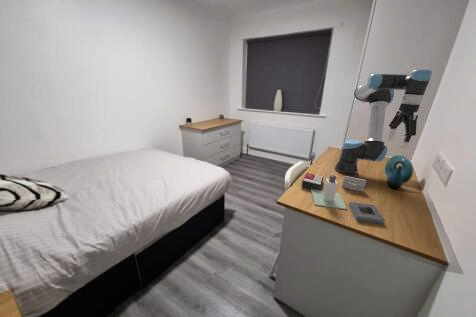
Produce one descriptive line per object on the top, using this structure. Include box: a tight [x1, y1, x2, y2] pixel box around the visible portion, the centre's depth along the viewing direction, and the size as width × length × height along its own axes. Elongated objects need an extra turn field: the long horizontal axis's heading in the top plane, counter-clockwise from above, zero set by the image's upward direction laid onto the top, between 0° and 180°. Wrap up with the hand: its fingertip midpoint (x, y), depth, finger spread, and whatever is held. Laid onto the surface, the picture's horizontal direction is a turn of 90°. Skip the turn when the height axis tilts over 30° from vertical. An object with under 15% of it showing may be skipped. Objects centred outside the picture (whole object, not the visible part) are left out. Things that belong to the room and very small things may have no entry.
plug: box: [322, 174, 339, 201], centre depth 109 cm, size 5×5×14 cm
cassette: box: [341, 175, 367, 192], centre depth 121 cm, size 12×2×8 cm, turn 66°
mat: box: [310, 188, 348, 210], centre depth 111 cm, size 16×16×1 cm
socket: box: [348, 201, 386, 225], centre depth 99 cm, size 12×12×2 cm
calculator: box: [301, 172, 324, 190], centre depth 126 cm, size 11×4×15 cm
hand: (396, 143), depth 107 cm, fingers open, 13 cm apart
